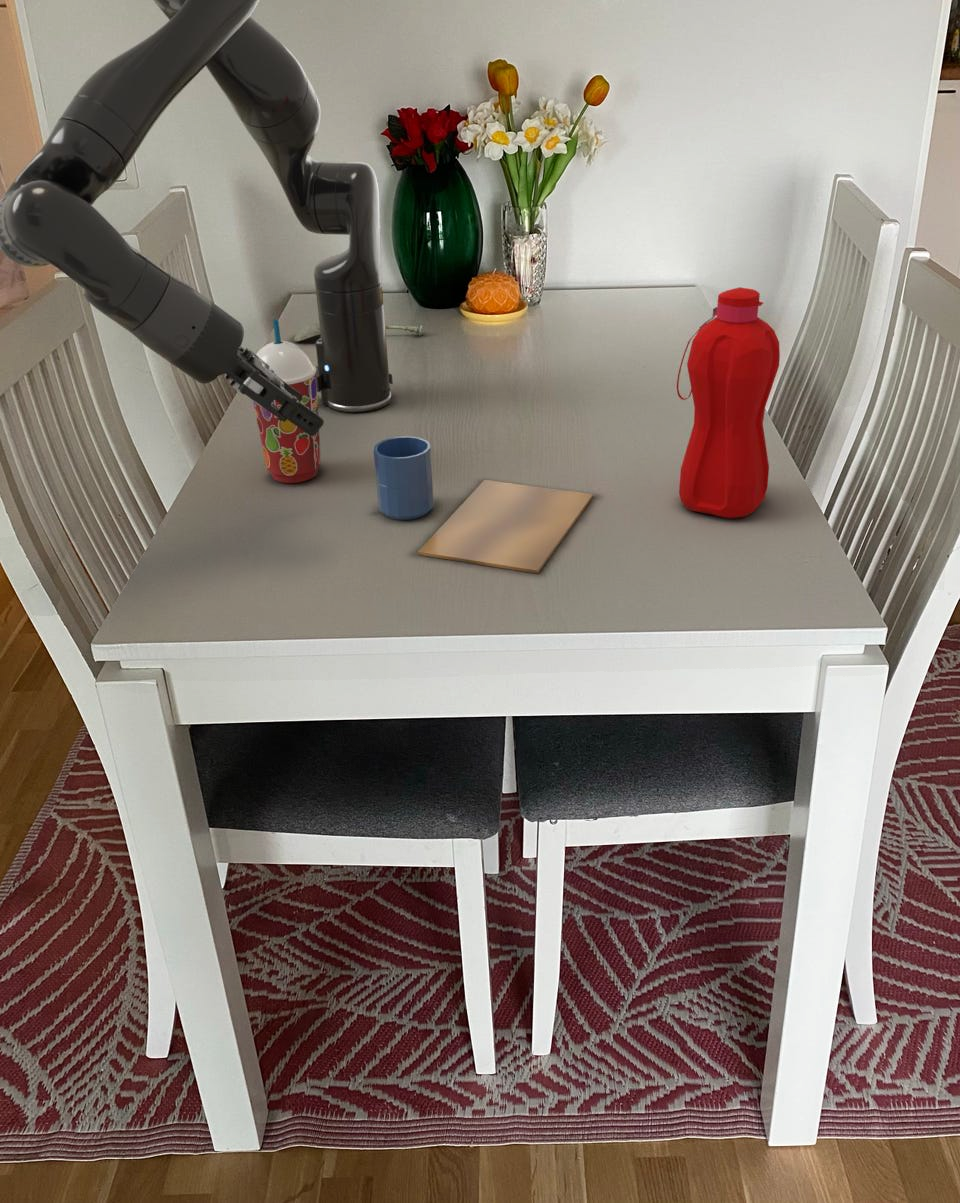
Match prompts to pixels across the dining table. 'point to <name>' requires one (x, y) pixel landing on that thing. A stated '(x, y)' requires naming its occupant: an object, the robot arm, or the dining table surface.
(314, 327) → the soupspoon
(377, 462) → the blue plastic tumbler
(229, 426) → the dining table surface
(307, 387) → the smoothie
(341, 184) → the robot arm
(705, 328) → the water bottle
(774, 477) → the dining table surface
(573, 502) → the mat
